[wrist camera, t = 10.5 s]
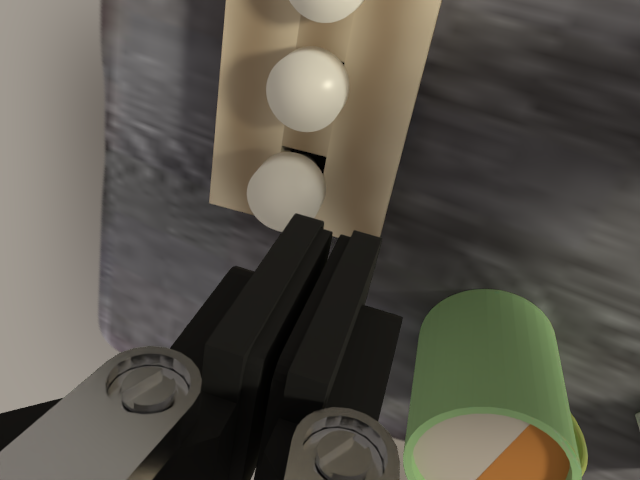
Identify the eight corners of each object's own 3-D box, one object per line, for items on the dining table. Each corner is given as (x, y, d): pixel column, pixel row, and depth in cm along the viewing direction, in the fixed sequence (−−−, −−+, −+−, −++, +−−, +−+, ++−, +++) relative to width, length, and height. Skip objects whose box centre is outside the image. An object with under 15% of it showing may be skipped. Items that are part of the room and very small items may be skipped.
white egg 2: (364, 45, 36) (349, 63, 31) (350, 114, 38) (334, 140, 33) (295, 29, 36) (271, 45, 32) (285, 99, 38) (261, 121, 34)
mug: (394, 361, 48) (372, 483, 37) (461, 266, 42) (457, 378, 32) (531, 430, 48) (547, 571, 37) (616, 345, 42) (662, 482, 32)
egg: (341, 145, 37) (324, 174, 33) (329, 205, 40) (312, 240, 35) (276, 128, 38) (251, 155, 34) (267, 189, 40) (243, 221, 36)
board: (500, -225, 29) (503, -239, 26) (382, 227, 42) (376, 248, 39) (268, -266, 30) (249, -282, 28) (224, 186, 43) (209, 203, 41)
